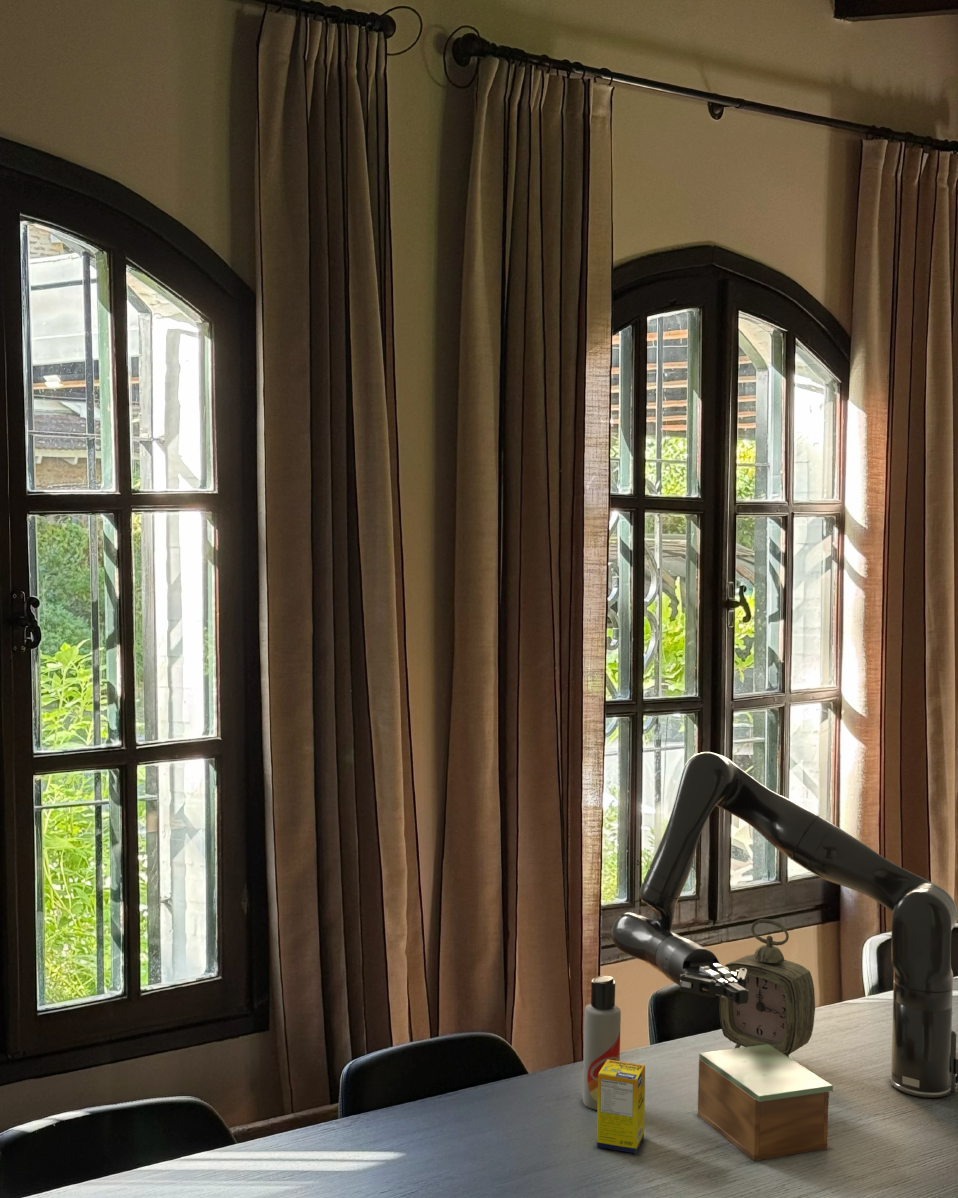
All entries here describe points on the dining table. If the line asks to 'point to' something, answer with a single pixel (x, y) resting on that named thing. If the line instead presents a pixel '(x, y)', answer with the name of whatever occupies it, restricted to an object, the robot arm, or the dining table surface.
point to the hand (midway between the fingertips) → (744, 997)
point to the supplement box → (621, 1106)
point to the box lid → (765, 1072)
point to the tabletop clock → (770, 1000)
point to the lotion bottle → (599, 1035)
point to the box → (762, 1118)
